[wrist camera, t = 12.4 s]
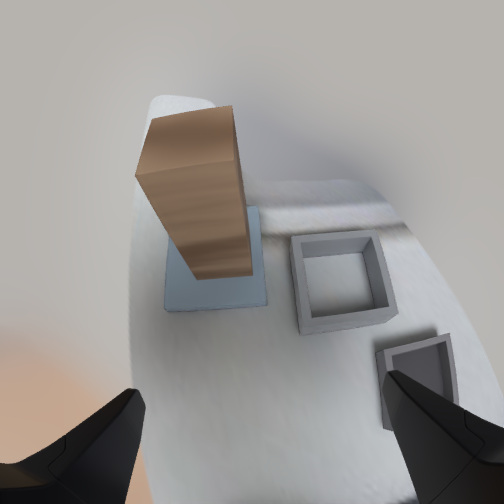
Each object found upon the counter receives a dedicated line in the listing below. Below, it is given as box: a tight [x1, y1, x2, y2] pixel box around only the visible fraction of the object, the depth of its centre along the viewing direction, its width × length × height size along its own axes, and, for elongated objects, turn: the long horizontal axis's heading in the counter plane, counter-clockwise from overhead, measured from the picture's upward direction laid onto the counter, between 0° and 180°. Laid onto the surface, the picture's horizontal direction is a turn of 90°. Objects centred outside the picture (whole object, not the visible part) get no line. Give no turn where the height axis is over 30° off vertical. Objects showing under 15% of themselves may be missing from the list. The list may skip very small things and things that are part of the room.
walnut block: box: [135, 106, 253, 280], centre depth 20 cm, size 5×5×14 cm
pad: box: [164, 206, 267, 312], centre depth 26 cm, size 10×9×1 cm
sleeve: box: [290, 229, 398, 335], centre depth 23 cm, size 8×8×3 cm
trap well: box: [376, 333, 459, 431], centre depth 19 cm, size 7×7×2 cm
